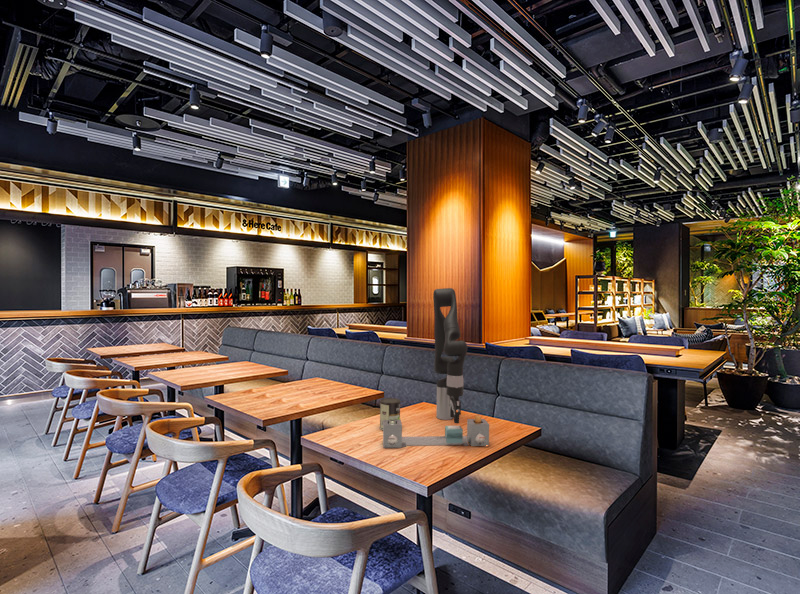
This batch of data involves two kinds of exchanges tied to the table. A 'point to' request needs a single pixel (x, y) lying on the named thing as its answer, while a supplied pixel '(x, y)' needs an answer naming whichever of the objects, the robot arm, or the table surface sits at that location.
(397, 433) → the cabinet
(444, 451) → the table surface
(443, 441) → the rail
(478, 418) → the button
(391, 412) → the coffee can
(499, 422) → the table surface
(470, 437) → the cabinet
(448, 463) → the table surface
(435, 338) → the robot arm
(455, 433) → the carriage
